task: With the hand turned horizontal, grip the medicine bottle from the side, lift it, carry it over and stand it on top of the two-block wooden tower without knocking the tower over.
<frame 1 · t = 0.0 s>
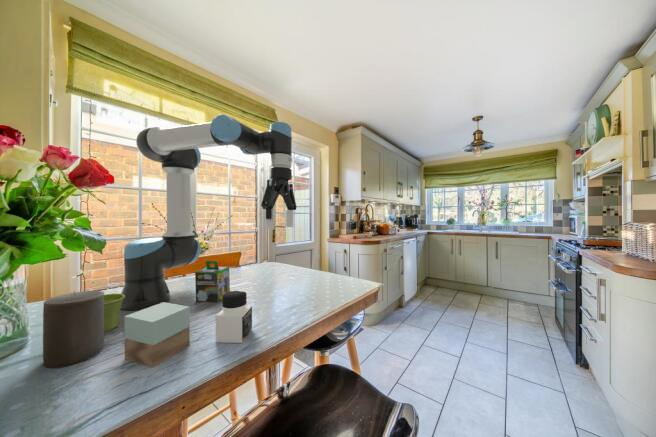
hand: (280, 228, 84), 28 cm above the table, tool pointing down, fingers open, 13 cm apart
chalk box: (213, 298, 93), on the table
tower base block: (158, 352, 56), on the table, touching tower top block
medicine bottle: (234, 336, 64), on the table
tower top block: (158, 332, 56), point 5 cm above the table, touching tower base block
pillar candle: (76, 355, 55), on the table
plant pot: (103, 329, 67), on the table
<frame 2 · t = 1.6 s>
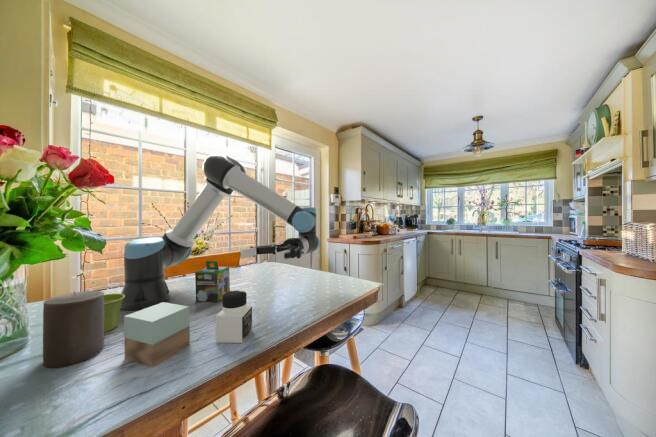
hand: (258, 255, 72), 20 cm above the table, tool horizontal, fingers open, 13 cm apart
nothing on the table moved.
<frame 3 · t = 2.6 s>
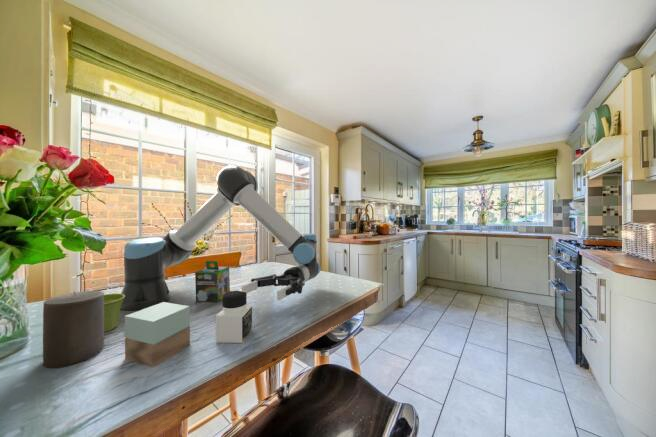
hand: (259, 292, 73), 9 cm above the table, tool horizontal, fingers open, 13 cm apart
nothing on the table moved.
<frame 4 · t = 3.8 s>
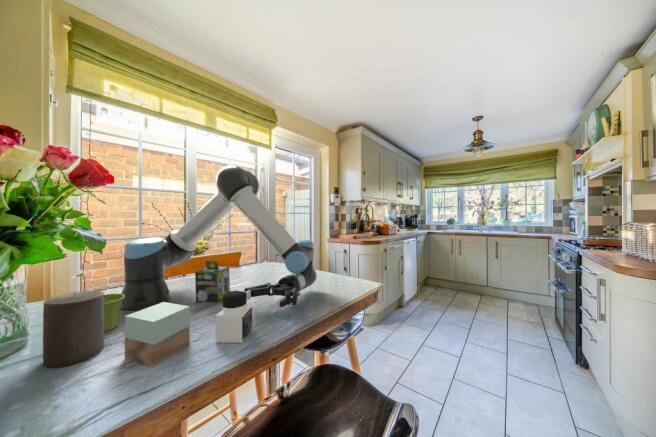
hand: (252, 304, 69), 6 cm above the table, tool horizontal, fingers open, 13 cm apart
nothing on the table moved.
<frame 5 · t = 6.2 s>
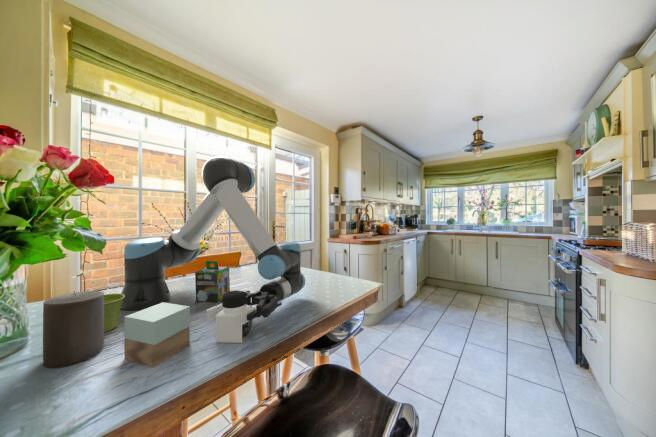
hand: (220, 318, 59), 7 cm above the table, tool horizontal, fingers closed on medicine bottle, 9 cm apart
medicine bottle: (234, 336, 64), on the table, touching gripper
everything else where it was.
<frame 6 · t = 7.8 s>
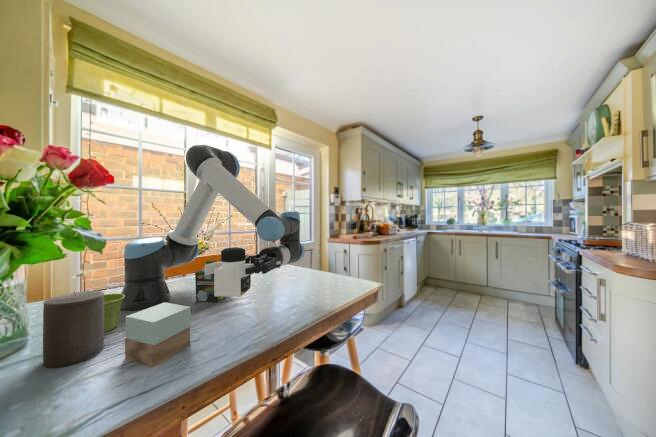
hand: (219, 272, 59), 18 cm above the table, tool horizontal, fingers closed on medicine bottle, 9 cm apart
medicine bottle: (233, 293, 64), point 12 cm above the table, touching gripper
everything else where it was.
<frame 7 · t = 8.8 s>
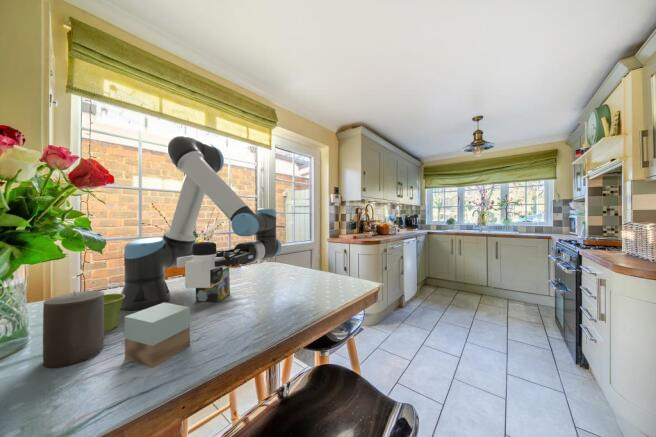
hand: (189, 264, 63), 19 cm above the table, tool horizontal, fingers closed on medicine bottle, 9 cm apart
medicine bottle: (204, 284, 67), point 13 cm above the table, touching gripper
everything else where it was.
when the fingers open (18 cm above the table, at t = 11.4 s): medicine bottle drops 2 cm, resting on tower top block.
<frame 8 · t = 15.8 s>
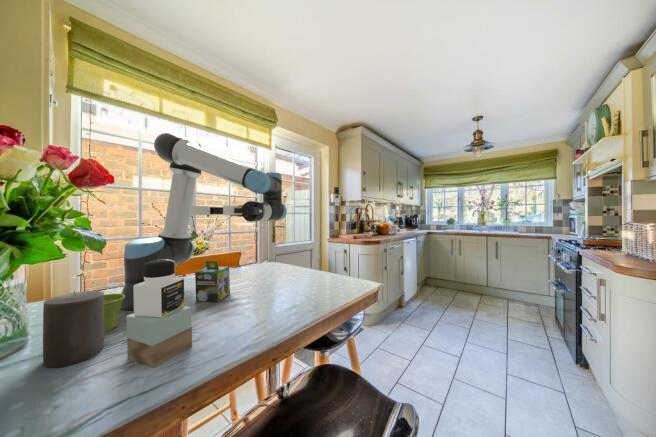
hand: (206, 210, 68), 34 cm above the table, tool horizontal, fingers open, 13 cm apart
tower base block: (161, 352, 56), on the table
medicine bottle: (160, 311, 56), point 10 cm above the table, touching tower top block
tower top block: (160, 332, 56), point 5 cm above the table, touching medicine bottle
everything else where it was.
at the end: medicine bottle inside the target area on the tower top block (0.4 cm from its centre), point 4.8 cm above the tower top block's base; medicine bottle tilted 1°; tower top block tilted 0° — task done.
